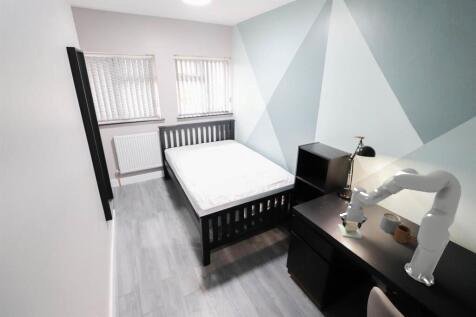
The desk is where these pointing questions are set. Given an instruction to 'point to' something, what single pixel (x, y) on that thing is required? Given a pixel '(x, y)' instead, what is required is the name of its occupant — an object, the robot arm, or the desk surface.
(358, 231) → the trivet
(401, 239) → the mug
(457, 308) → the desk surface
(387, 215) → the coffee mug
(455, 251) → the desk surface
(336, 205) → the desk surface
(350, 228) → the maple block
